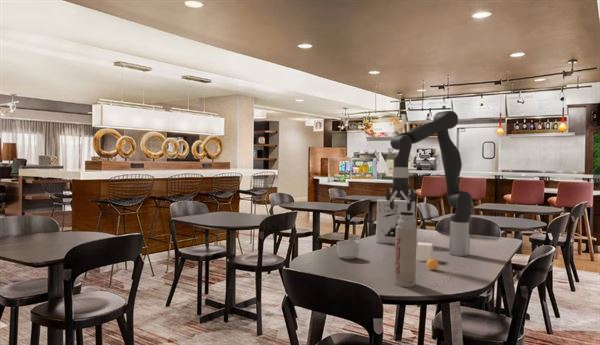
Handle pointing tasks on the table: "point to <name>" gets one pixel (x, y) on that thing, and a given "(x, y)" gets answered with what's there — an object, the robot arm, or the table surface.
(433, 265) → the ball
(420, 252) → the cream colored box
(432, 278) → the table surface
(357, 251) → the teacup
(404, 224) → the thermos bottle
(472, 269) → the table surface
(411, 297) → the table surface
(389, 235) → the cereal box
